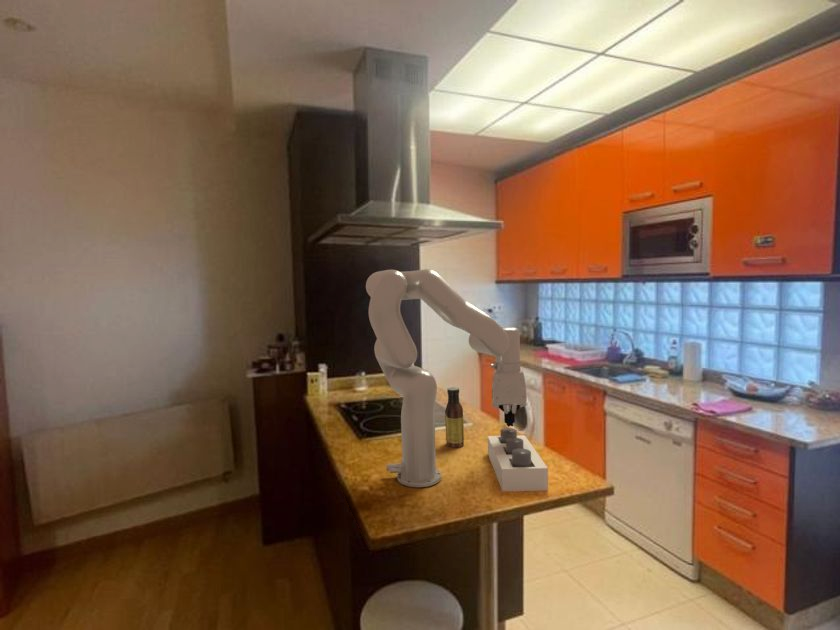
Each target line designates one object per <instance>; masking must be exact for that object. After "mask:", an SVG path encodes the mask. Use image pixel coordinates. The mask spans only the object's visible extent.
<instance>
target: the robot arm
mask: <svg viewBox="0 0 840 630" xmlns="http://www.w3.org/2000/svg"><path fill="white" fill-rule="evenodd" d="M365 289H366V290H365V291H366V293H367V294H368V296H369V297H370V299H369V305H368V318H369V322H370V325H371V328H372V329H373V332H374V334H375V337H376V340H375V343H374V346H373V347H374V349H373V350H374V356H375V358H376V361H377V363H378V364H379V367H380V368H381V369H380V370H381V371H382V373H383V374H384V376H385V378H386V380H387V382H388V384H389V386H390V387H391V389H392V390H393V391H394V392H395V393H396V394H398V395H400V396H401V397H403V399H402V405H401V413H400V427H401V428H400V429H401V430H400V431H401V461H400V462H397V463H386V471H390V474H397V475H396V477H397V482H398V483H400V485H404V486H406V487H410V488H411V487H412V488H427V487H430V486H433V485H436V484H438V483H439V482H440V481H441V480H442V472H441V471H440V469H438V468H437V462H436V461H437V456H436V422H435V419H436V418H435V416H436V415H435V412H436V409H435V408H436V400H437V393H438V387H437V386H438V385H437V381H436V378H435V377H434V375H433V374H432V373H431V372H429V370H427V369H424V368H422V367H420V366H417V365H415V363H416V361H417V358H418V349H417V347H416V343H415V342H414V340H413V339H412V338H413V337H412V336H411V334H410V332H409V330H408V328H407V326H406V324H405V321H404V319H403V316H402V313H401V305H402V301H404V300H405V301H406V300H421V301H423V302H424V303H425V304H426V305H427V306H428V307H429V308H430V309H431V310H432V311H434V312H435V313H436V315H438V316H439V317H440V318H441V319H442V320H443V321H444V322H446V323H447V324H449V325H451V326H452V327H455V328H457V329H460V330H462V331H465V332H466V333H468V334H469V336H468V345H469V347H470V348H471V349H472V350H474V351H476V352H477V353H481V354H487V355H491V356H495V362H494V363H491V364H490V369H495V370H494V371H493V375H492V383H491V384H492V385H491V386H492V387H491V398H492V402H491V407H492V408H494V409H500V410H501V411H502V412H503V416H504V417H503V418H504V419H503V420H504V423H505V424H506V426H507V428H510V427H514V424H515V423H516V420H515V419H516V416H515V415H516V413H517V411H518V410H519V409H520V408H523V407H527V405H528V404H527V397H528V396H527V386H526V385H527V384H526V379H525V373H524V371H523V370H521V342H520V341H521V340H520V338H521V337H520V336H521V335H520V334H521V333H520V331H519V329H518V328H517V327H513V326H505V327H504V326H503V327H502V326H500V324H499V323H497V321H496V320H494V319H493V318H492V317H491V316H489V315H488V314H487V313H485V312H484V311H482V310H480V309H479V308H478V307H477V306H475V305H473V304H472V303H470V302H468V301H467V300H466V299H464V297H462V295H460V294H459V293H458V292H457V290H455V289H454V288H453V286H452V285H451V284H450V283H448V281H446V279H445V278H443V276H441V275H440V274H439V273H438V272H436V270H433V269H428V268H426V269H425V268H424V269H417V270H411V271H410V270H409V271H399V270H396V269H386V270H379V271H376V272H373V273H372V274H371V275H369V277H368V278H367V280H366V282H365ZM508 406H510V409H509V408H508Z"/></svg>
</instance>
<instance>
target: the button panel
mask: <svg viewBox="0 0 840 630" xmlns="http://www.w3.org/2000/svg"><path fill="white" fill-rule="evenodd" d="M517 438H520V439H522V440H523V449H527V450H529V451H531V467H512V454H509V455H506V443H503V444H501V435H487V456H488V458H489V461H490V462H491V466H492V468H493V471H494V473H495V476H496V478H497V481H498V484H499V487H500V489H501V491H502V492H529V491H530V492H532V491H534V492H535V491H537V492H538V491H540V492H541V491H546V490H547V491H549V468H548V466H547V465H546V463H545V462H544V461H543V459H542V458H541V455H540V454H539V453H538V451H536V449H535V448H534V446H533V445H532V443H531V442H530V441H529V439H528V437H527V436H526V435H523V434H521V435H517Z"/></svg>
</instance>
